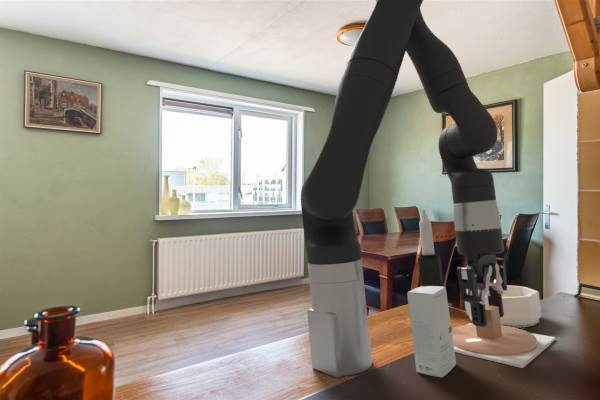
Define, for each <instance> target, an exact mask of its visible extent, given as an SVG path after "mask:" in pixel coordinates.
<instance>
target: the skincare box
mask: <svg viewBox="0 0 600 400" xmlns="http://www.w3.org/2000/svg"><path fill="white" fill-rule="evenodd" d="M406 295H407V304H408V311H409V321H410V328H411V338H412V339H411V340H412V347H413V356H414V364H415V370H416V372H417V373H418V374H423V375H427V376H432V377H436V378H445V376H446V375H448V373H450V372H451V371H452V370H453V368H454V367H455V366H456V364H457V359H456V352H455V351H454V343H453V336H452V329H453V328H452V322H451V317H450V316H451V315H450V309H449V301H448V293H447V287H446V286H444V287H442V286H419V287H415V288H413V289H412V290H410V291H408V292H407V293H406Z"/></svg>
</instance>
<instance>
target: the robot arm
mask: <svg viewBox="0 0 600 400" xmlns="http://www.w3.org/2000/svg"><path fill="white" fill-rule="evenodd" d="M423 2H424V0H375V5H374V6H373V10H372V12H371V13H370V16H369V18H368V19H367V21H366V23H365V24H364V26H363V29H362V31H361V33H360V34H359V36H358V37H357V40H356V42H355V44H354V46H353V49H352V50H351V52H350V55H349V58H348V59H347V62H346V65H345V68H344V71H343V73H342V76H341V79H340V82H339V85H338V89H337V92H336V96H335V100H334V101H335V102H334V104H333V112H332V119H331V123H330V124H331V125H330V128H329V132H328V134H327V137H326V139H325V142H324V144H323V146H322V149H321V151H320V153H319V155H318V158H317V160H316V162H315V164H314V166H313V167H312V170H311V171H310V173H309V174H308V175H307V178H306V179H305V181H304V182H303V184H302V187H301V190H300V206H301V209H300V210H301V218H302V226H303V239H304V245H305V251H306V252H305V253H306V257H307V258H306V261H307V269H308V270H307V271H308V283H309V293H310V295H309V296H310V304H311V308H309V309H308V310H307V325H308V333H309V334H308V335H309V345H310V346H309V347H310V357H311V367H312V368H313V369H315V370H317V371H320V372H322V373H324V374H327V375H329V376H331V377H334V378H338V379H339V378H340V377H343V376H352V375H356V374H360V373H363V372H365V371H367V370H368V369H370V368H371V366H372V364H373V358H372V349H371V339H370V328H369V319H368V310H367V299H366V290H365V281H364V280H365V279H364V270H363V262H362V261H363V259H362V250H361V249H362V248H361V244H360V241H359V239H358V236H357V233H356V227H355V221H354V214H353V213H354V212H353V211H354V209H355V207H356V205H357V204H358V200H359V197H360V194H361V189H362V184H363V179H364V174H365V171H366V166H367V163H368V162H367V161H368V157H369V154H370V150H371V146H372V144H373V143H374V139H375V137H376V134H377V133H378V131H379V128H380V126H381V124H382V121H383V118H384V116H385V114H386V111H387V108H388V106H389V103H390V101H391V99H392V95H393V92H394V89H395V86H396V83H397V80H398V78H399V74H400V71H401V67H402V64H403V60H404V57H405V55H406V54H407V55H408V57H409V58H410V61H411V62H412V64H413V67H414V68H415V71H416V73H417V75H418V78H419V80H420V82H421V85H422V87H423V90H424V92H425V95H426V97H427V99H428V102H429V104H430V105H429V106H431V108H432V110H433V111H434V112H435V113H436V114H446V113H447V114H448V115H449V116H450V117H451V119H452V120H453V122H454V123H452V124H450V125H448V126H446V127H445V128H443V130H442V131H441V133H440V135H439V138H438V153H439V156H440V158H441V159H440V160H441V161H442V164H443V166H444V169H445V172H446V174H447V177H448V178H449V180H450V183H451V193H452V194H451V195H452V201H453V203H452V204H453V223H454V224H453V225H454V231H455V232H454V233H455V239H456V241H455V243H456V247H457V248H456V249H457V253H458V254H459V255H463V256H465V260H466V261H465V266H464V267H463V266H457V268H456V275H457V279H458V285H459V290H460V297H461V301H462V302H463V303H465V302H468V303H470V306H471V315H472V324H474V325H475V326H481V327H485V326H486V325H487V317H486V309H485V304H484V302H485V293H486V292H487V293H488V294H490V295H489V296H488V303H489V305H490V306H498V307H499V315H500V317H503V316H504V311H503V303H502V296H503V294H504V292H503V290H507V285H508V281H507V268H506V259H505V258H504V257H497V255H498V254H502V253H504V251H505V246H504V239H503V231H502V221H501V216H500V214H501V213H500V210H499V207H498V203H497V202H498V201H497V197H496V190H495V188H496V187H495V182H494V175H493V174H492V172H491V171H490V170H489V169H486V168H478V165H477V163H476V162H475V159H474V156H475V157H476V156H479V155H481V154H484V153H487V152H489V151H491V150H492V149H493V148H494V147H495V146H496V143H497V139H498V129H497V128H498V127H497V123H496V121H495V120H494V117H493V116H492V115H491V113H490V112H489V111H488V109H486V108H485V106H484V105H483V103H482V102H481V100H479V98H478V97H477V96H476V94H475V93H473V91H472V90H471V89H470V86H469V84H468V80H467V79H466V75H465V74H464V70H463V69H462V67H461V63H460V62H459V60H458V57H456V54H455V53H454V52H453V50H452V49H451V48H450V47H449V46H448V45H447V44H446V43H445V42H443V41H442V40H441V39H440V38H439V37H437V35H436V34H435V33H433V31H432V30H431V29H430V28H429V26H428V24H427V23H426V21H425V19H424V16H423V15H422V14H423V13H422V11H421V6H422V5H423ZM466 289H468V295H467V291H466ZM478 291H479V294H478Z"/></svg>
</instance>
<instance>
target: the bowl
mask: <svg viewBox="0 0 600 400" xmlns="http://www.w3.org/2000/svg"><path fill="white" fill-rule="evenodd" d="M466 291H467V295H468V289H466ZM503 292H504V295H506V296H508V297H502V303H503V311H504V316H503V317H500V323H501V325H512V326H515V325H516V326H517V325H527V324H533V323H535V322H537V321H538V320H539V321H540V318H542V316H543V315H542V314H543V313H542V309H541V308H542V306H541V301H540V293H539V291H538V290H536V289H533V288H530V287H526V286H522V285H521V286H520V285H508V284H507V290H503ZM478 294H479V291H478ZM489 295H490V294H488V293H487V292H486V293H485V302H484V304H485V305H489V303H488V296H489ZM464 309H465V314H466V315H468V320H469V321H470V323H471V322H472V315H471V306H470V303H468V302H464Z"/></svg>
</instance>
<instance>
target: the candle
mask: <svg viewBox="0 0 600 400" xmlns="http://www.w3.org/2000/svg"><path fill="white" fill-rule="evenodd" d="M421 211H422V212H421V213H422V214H421V218H420V221H419V223H418V224H419V234H420V241H421V242H420V243H421V252H422V253H420V254H419V255H418V256H419V257H417V264H418V265H417V266H418V274H419V285H420V286H419V287H421V286H442V287H445V286H444V285H445V283H444V275H443V267H442V266H443V265H442V258H441V255H439V253H437V252H436V253H435V247H434V246H435V244H434V236H433V235H434V234H433V228H432V221H431V220H430V219H429V218H428V215H427V213H426V209H425V208H424V209H422V210H421Z"/></svg>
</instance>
